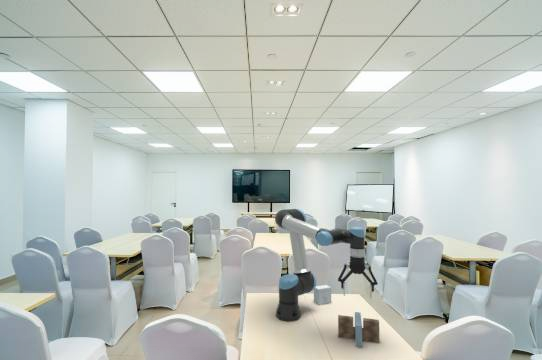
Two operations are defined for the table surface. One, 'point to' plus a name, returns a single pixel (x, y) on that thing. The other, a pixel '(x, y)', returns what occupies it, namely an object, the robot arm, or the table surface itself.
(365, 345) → the table surface
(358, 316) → the long blue bar
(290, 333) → the table surface
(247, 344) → the table surface
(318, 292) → the skincare box
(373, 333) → the slotted beam
